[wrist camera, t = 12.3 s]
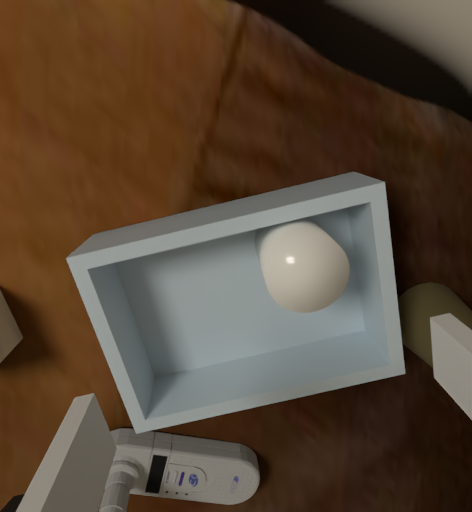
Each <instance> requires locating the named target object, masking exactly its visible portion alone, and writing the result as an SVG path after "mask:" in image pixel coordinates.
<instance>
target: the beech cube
mask: <svg viewBox="0 0 472 512" xmlns="http://www.w3.org/2000/svg"><path fill="white" fill-rule="evenodd" d="M22 339H23V336H22V334H21V332H20V330H19V328H18V326H17V323H16V321H15V319H14V317H13V315H12V313H11V311H10V309H9V307H8V305H7V303H6V301H5V299H4V297H3V294H2V292H1V290H0V363H1V362H2V361H3V360H4V358H5V357H6V356H7V355H8V354H9V353H10V352H11V351H12V350H13V349H14V348H15V347H16V345H17V344H18V343H19V342H20V341H21V340H22Z"/></svg>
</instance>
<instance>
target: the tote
mask: <svg viewBox="0 0 472 512" xmlns="http://www.w3.org/2000/svg"><path fill="white" fill-rule="evenodd" d="M309 216H310V217H311V218H312V219H313V220H314V221H315V222H316V223H317V224H318V225H319V226H320V227H321V228H322V229H323V230H324V231H325V232H326V233H327V234H328V235H329V236H330V237H331V238H332V239H333V240H334V241H335V242H336V243H337V244H338V245H339V246H341V248H342V249H343V250H344V252H345V254H346V256H347V259H348V262H349V279H348V282H347V285H346V287H345V289H344V291H343V292H342V294H341V295H340V296H339V298H338V299H337V300H336V301H335V302H333V303H332V304H331V305H329V306H328V307H326V308H324V309H321V310H319V311H315V312H310V313H298V312H293V311H290V310H287V309H285V308H283V307H282V306H280V305H279V304H278V303H277V302H276V301H275V300H274V299H273V298H272V296H271V295H270V293H269V291H268V289H267V286H266V282H265V279H264V276H263V273H262V269H261V266H260V263H259V259H258V256H257V253H256V250H255V235H256V232H257V229H259V228H263V227H267V226H271V225H275V224H280V223H284V222H288V221H292V220H296V219H301V218H305V217H309ZM66 259H67V262H68V264H69V267H70V270H71V272H72V275H73V277H74V280H75V282H76V285H77V287H78V290H79V292H80V295H81V297H82V300H83V302H84V305H85V307H86V310H87V312H88V315H89V317H90V320H91V322H92V325H93V327H94V330H95V332H96V335H97V337H98V340H99V342H100V345H101V347H102V350H103V352H104V355H105V357H106V360H107V362H108V365H109V367H110V370H111V372H112V375H113V377H114V380H115V382H116V385H117V387H118V390H119V392H120V395H121V397H122V400H123V402H124V405H125V407H126V410H127V412H128V415H129V417H130V420H131V422H132V425H133V427H134V430H135V432H136V434H137V433H142V432H146V431H151V430H155V429H160V428H164V427H169V426H173V425H178V424H182V423H187V422H191V421H196V420H200V419H205V418H209V417H214V416H218V415H223V414H227V413H232V412H236V411H241V410H245V409H249V408H254V407H258V406H263V405H267V404H272V403H276V402H281V401H285V400H290V399H294V398H299V397H303V396H308V395H312V394H317V393H321V392H326V391H330V390H335V389H339V388H344V387H348V386H353V385H357V384H361V383H366V382H370V381H375V380H379V379H384V378H388V377H393V376H397V375H402V374H405V365H404V356H403V346H402V337H401V328H400V318H399V309H398V300H397V290H396V281H395V272H394V262H393V253H392V244H391V234H390V225H389V216H388V206H387V197H386V187H385V182H383V181H380V180H377V179H374V178H371V177H368V176H365V175H362V174H359V173H356V172H351V173H346V174H342V175H338V176H334V177H330V178H326V179H321V180H317V181H313V182H309V183H305V184H301V185H297V186H292V187H288V188H284V189H280V190H276V191H272V192H267V193H263V194H259V195H255V196H251V197H247V198H242V199H238V200H234V201H230V202H226V203H222V204H217V205H213V206H209V207H205V208H201V209H197V210H192V211H188V212H184V213H180V214H176V215H172V216H168V217H163V218H159V219H155V220H151V221H147V222H143V223H138V224H134V225H130V226H126V227H122V228H118V229H113V230H109V231H105V232H101V233H97V234H93V235H92V236H91V237H90V238H89V239H87V240H86V241H85V242H84V243H83V244H82V245H81V246H79V247H78V248H77V249H76V250H75V251H74V252H73V253H71V254H70V255H69V256H68V257H67V258H66Z"/></svg>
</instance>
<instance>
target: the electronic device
mask: <svg viewBox="0 0 472 512" xmlns="http://www.w3.org/2000/svg"><path fill="white" fill-rule="evenodd" d="M110 433H111V435H112V438H113V440H114V443H115V445H116V448H117V449H116V453H115V456H114V459H113V463H112V466H111V469H110V472H109V476H108V479H107V482H106V486H105V489H106V490H105V492H104V495H103V498H102V502H101V506H100V509H99V512H126V510H127V505H128V500H129V494H139V495H142V494H143V495H147V496H155V497H164V498H173V499H182V500H191V501H200V502H209V503H218V504H227V505H232V504H237V503H241V502H243V501H245V500H247V499H249V498H250V497H251V496H252V495H253V494H254V493H255V492H256V490H257V488H258V485H259V482H260V473H259V467H258V462H257V457H256V455H255V453H254V452H253V451H252V450H251V449H250V448H249V447H247V446H245V445H243V444H240V443H234V442H227V441H220V440H213V439H206V438H199V437H192V436H184V435H177V434H173V435H172V434H170V433H162V432H155V431H146V432H142V433H137V434H136V432H135V430H134V429H133V428H119V429H116V430H113V431H111V432H110Z"/></svg>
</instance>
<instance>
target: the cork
mask: <svg viewBox="0 0 472 512" xmlns="http://www.w3.org/2000/svg"><path fill="white" fill-rule="evenodd" d="M397 300H398V309H399V318H400V328H401V337H402V343H403V344H404V345H405V346H406V347H407V348H409V349H410V350H411V351H412V352H414V353H415V354H416V355H417V356H419V357H420V358H421V359H422V360H424V361H425V362H426V363H427V364H429V365H430V366H431V367H432V368H433V355H432V341H431V327H430V317H434V316H439V315H443V314H447V313H450V314H452V315H453V316H454V317H456V318H457V319H458V320H459V321H461V322H462V323H463V324H465V325H466V326H467V327H468V328H470V329H471V330H472V311H471V310H470V309H469V308H468V306H467V305H466V304H465V303H464V302H463V301H462V300H461V299H460V298H459V297H458V296H457V295H456V294H455V293H454V292H453V291H452V290H451V289H450V288H448V287H446V286H444V285H442V284H438V283H431V282H429V283H423V284H418V285H416V286H414V287H412V288H410V289H408V290H406V291H405V292H404V293H403V294H402V295H401V296H399V297H398V299H397Z"/></svg>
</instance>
